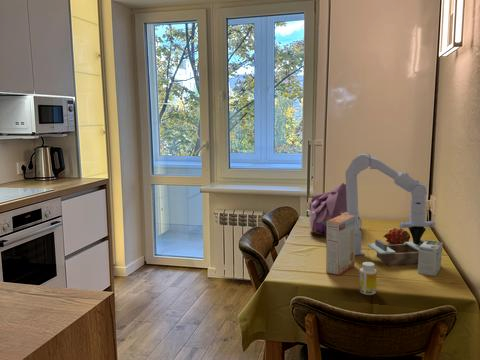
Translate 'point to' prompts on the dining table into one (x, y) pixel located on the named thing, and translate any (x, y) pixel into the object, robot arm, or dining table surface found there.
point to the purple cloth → (327, 208)
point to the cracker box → (340, 244)
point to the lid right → (414, 244)
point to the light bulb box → (430, 257)
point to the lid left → (381, 247)
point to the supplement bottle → (368, 278)
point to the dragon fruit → (397, 236)
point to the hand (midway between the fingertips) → (416, 243)
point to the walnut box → (400, 255)
